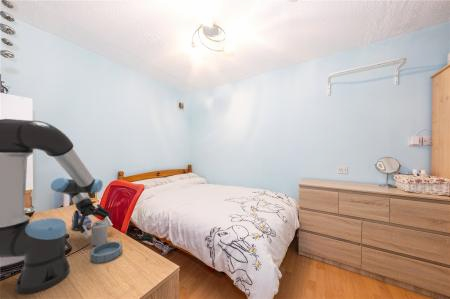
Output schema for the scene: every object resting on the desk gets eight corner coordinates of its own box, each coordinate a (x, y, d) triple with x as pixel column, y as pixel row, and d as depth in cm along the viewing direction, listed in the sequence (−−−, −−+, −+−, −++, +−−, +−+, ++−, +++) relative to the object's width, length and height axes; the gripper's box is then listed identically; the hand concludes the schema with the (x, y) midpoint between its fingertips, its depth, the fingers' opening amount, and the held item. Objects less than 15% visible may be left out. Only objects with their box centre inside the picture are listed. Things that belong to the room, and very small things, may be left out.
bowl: (115, 261, 83) (116, 254, 83) (84, 264, 80) (84, 257, 80) (125, 246, 96) (125, 240, 96) (98, 249, 93) (98, 242, 93)
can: (88, 244, 97) (89, 223, 97) (102, 238, 104) (103, 218, 104) (95, 248, 94) (96, 226, 94) (109, 242, 100) (110, 221, 100)
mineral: (68, 214, 116) (87, 209, 124) (68, 227, 117) (87, 222, 125) (75, 222, 108) (94, 217, 116) (75, 236, 109) (94, 230, 117)
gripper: (99, 200, 117) (115, 226, 113) (54, 212, 93) (72, 245, 89) (105, 193, 116) (122, 219, 111) (61, 203, 92) (80, 237, 87)
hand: (100, 231), depth 100 cm, fingers open, 13 cm apart
